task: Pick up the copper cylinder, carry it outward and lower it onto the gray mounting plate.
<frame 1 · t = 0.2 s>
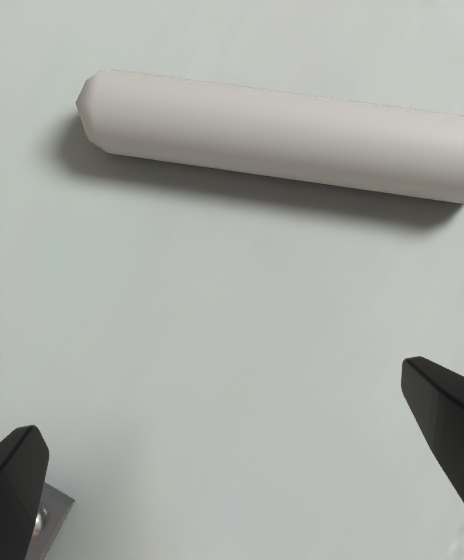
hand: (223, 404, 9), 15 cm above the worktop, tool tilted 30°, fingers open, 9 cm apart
tube: (278, 155, 26), on the worktop
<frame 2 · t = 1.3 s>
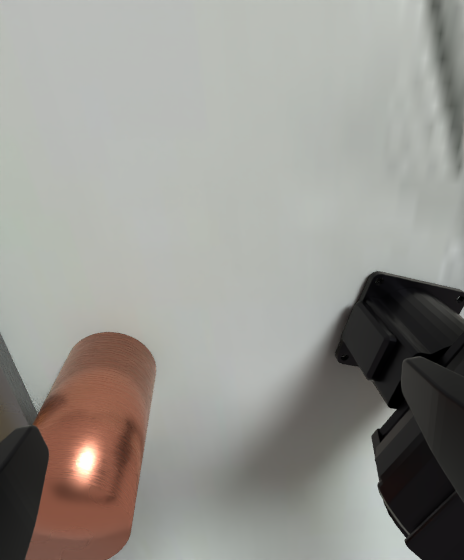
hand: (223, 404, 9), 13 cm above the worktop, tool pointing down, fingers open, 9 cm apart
copper cylinder: (112, 369, 24), on the worktop
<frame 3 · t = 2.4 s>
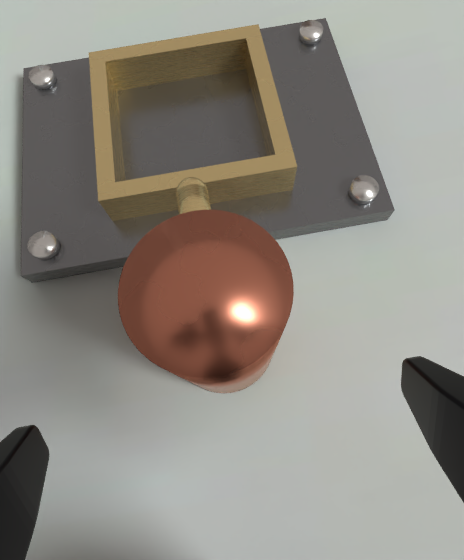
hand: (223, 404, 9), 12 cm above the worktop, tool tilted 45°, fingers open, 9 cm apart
copper cylinder: (224, 342, 21), on the worktop
gray mounting plate: (193, 144, 26), on the worktop
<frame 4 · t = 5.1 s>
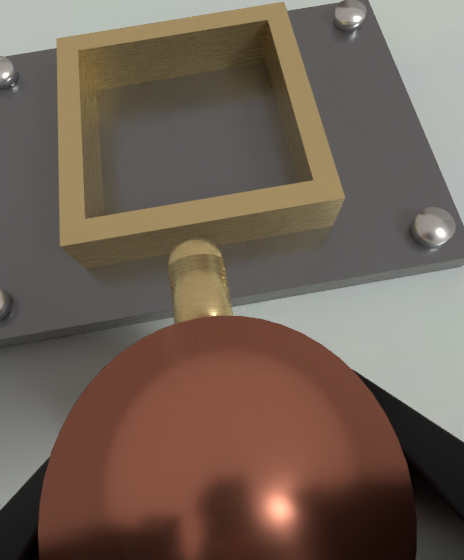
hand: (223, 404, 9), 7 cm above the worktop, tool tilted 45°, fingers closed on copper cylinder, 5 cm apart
copper cylinder: (239, 445, 15), on the worktop, touching gripper
gray mounting plate: (196, 160, 20), on the worktop
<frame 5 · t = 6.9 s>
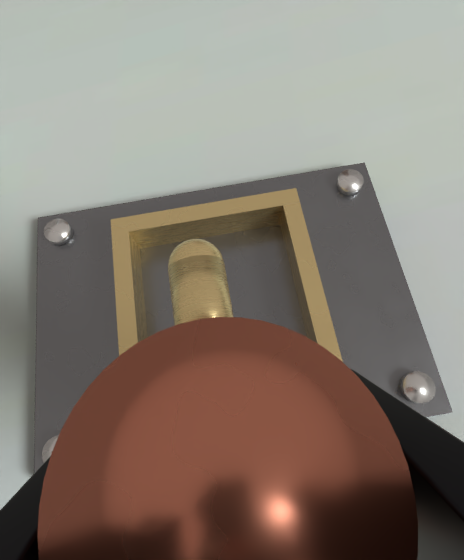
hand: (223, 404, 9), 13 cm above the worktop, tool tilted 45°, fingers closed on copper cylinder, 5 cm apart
copper cylinder: (239, 445, 15), point 6 cm above the worktop, touching gripper
gray mounting plate: (222, 309, 24), on the worktop
when the fingers open (9 cm above the worktop, at t = 9.1 s): copper cylinder drops 1 cm, resting on gray mounting plate.
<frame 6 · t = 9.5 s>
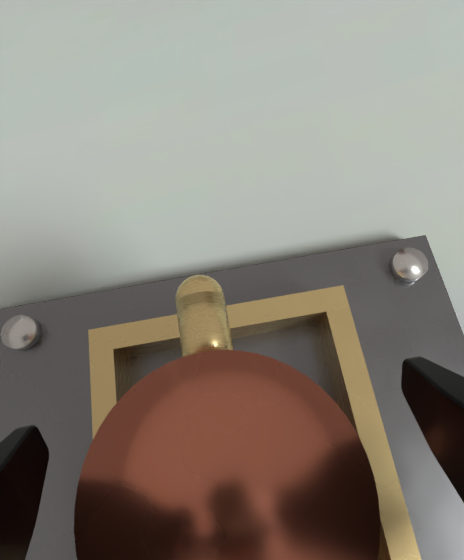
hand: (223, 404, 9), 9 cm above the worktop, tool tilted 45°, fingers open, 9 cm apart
copper cylinder: (240, 444, 16), point 1 cm above the worktop, touching gray mounting plate
gray mounting plate: (240, 440, 18), on the worktop
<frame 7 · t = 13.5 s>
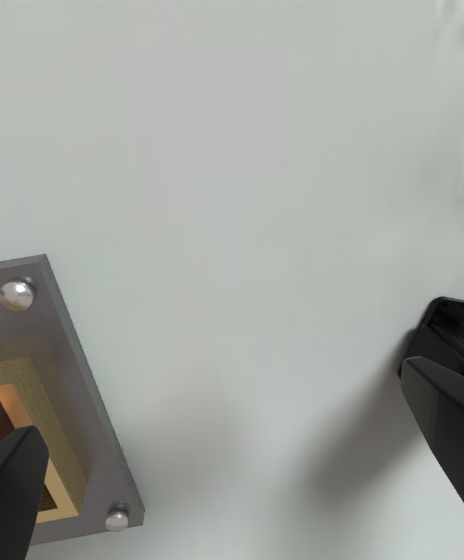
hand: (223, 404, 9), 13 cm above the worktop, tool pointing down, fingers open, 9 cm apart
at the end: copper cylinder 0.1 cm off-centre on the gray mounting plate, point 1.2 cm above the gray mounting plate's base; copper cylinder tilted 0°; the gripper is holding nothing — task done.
